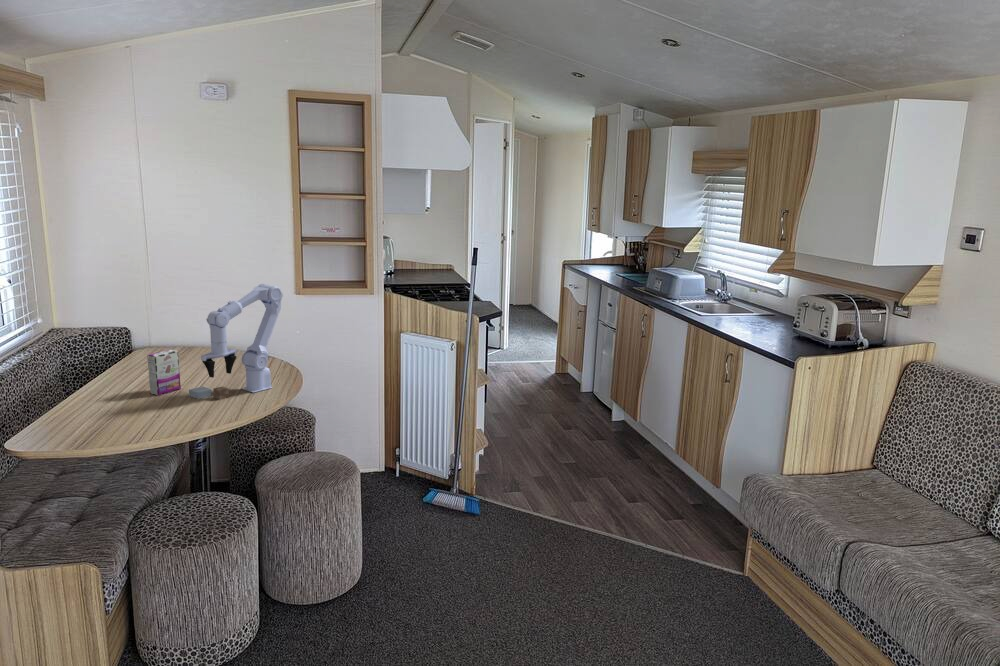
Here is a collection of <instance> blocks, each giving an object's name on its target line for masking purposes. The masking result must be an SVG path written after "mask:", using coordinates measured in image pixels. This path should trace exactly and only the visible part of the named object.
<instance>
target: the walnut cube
mask: <svg viewBox="0 0 1000 666" xmlns="http://www.w3.org/2000/svg"><path fill="white" fill-rule="evenodd" d="M212 389H213V399H215V398H216V399H215V400H218V399H219V401H221V399H222V400H226V399H228V398H229V397H230V395H229V391H230V390H229V387H226V386H217V387H213V388H212ZM225 398H226V399H225Z"/></svg>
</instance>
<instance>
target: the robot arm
mask: <svg viewBox="0 0 1000 666" xmlns="http://www.w3.org/2000/svg"><path fill="white" fill-rule="evenodd" d="M283 297H284V294H283V292H282V290H281V288H280V287H279V286H277V285H269V284H264V283H260V284H258V285H257V286H255V287H254V288H253V290H251V291H249V293H247V294H246V295H244V296H243V297H241V298H240V299H238V300H237V301H236V300H228V301H227V304H225V305H224V306H222V307H218V308H217V310H212V311H210V312H209V313H208V315H207V318H205V319H206V323H207V324H208V325H209V333H210V349H211V350H210V351H211V352H208V353H205V354H201V355H200V360H201V362H202V363H203V365H204V367H205V368H206V371H207V373H208V377H210V378H215V364H216V361H215V360H214V359H219V358H224V362H225V372H226V374H228V375H230V374H232V370H233V367H234V364H235V362H236V359H237V355H238V354H237V353H238V351H237V349H234V348H233V349H228V346H227V326H228V324H229V322H230V321H231V320H232V319H234V318H235V317H237V316H239V315H241V314H242V312H243V309H245V308H247V307H248V306H249V305H251V304H253V303H255V302H257V301H260V302H261V303H262V304H263V305H264V307H265V311H264V314H263V316H262V319H261V321H260V324H259V326H258V329H257V333H256V335H255V337H254V340H253V343H251V344H250V345H249V346H248V347H246V350H245V351H244V353H243V354H242V355H241V364H242V365H244V368H245V386H244V387H241V390H243V391H247V392H250V393H257V392H262V391H266V390H271V389H272V388H273V386H272V381H271V377H272V375H271V373H272V372H271V370H270V368H269V367H268V366H267V365H268V357H269V356H270V355H269V352H268V350H267V346H268V345H269V341H270V338H271V336H272V333H273V331H274V328H275V325H276V322H277V320H278V317H279V314H280V312H281V309H282V299H283Z"/></svg>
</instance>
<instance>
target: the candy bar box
mask: <svg viewBox="0 0 1000 666" xmlns="http://www.w3.org/2000/svg"><path fill="white" fill-rule="evenodd" d="M146 355H147V367H148V369H147V371H148V379H149V392H150V393H152V394H151V395H153V394H155V395H154V396H158V395H159V396H162V395H161V394H163V395H165V394H164V393H166V394H168V392H169V393H172V392H171V391H173V392H175V390H176V391H178V389H179V390H181V389H182V388H181V374H180V373H181V372H180V360H179V351H178V350H177V349H176V350H175V349H170V348H169V349H167V350H166V349H165V350H163V351H162V350H161V351H159V352H154V353H151V354H150V353H149V354H146Z"/></svg>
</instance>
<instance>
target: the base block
mask: <svg viewBox="0 0 1000 666" xmlns="http://www.w3.org/2000/svg"><path fill="white" fill-rule="evenodd" d="M212 395H213V394H212V388H210V387H209V388H208V387H205V386H200V387H193V388H191V389H188V396H189V397H190V396H191V397H190V398H193V397H194V398H193V399H196V398H197V399H196V400H201V399H204V397H205V398H208V396H209V397H212ZM200 398H201V399H200Z"/></svg>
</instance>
